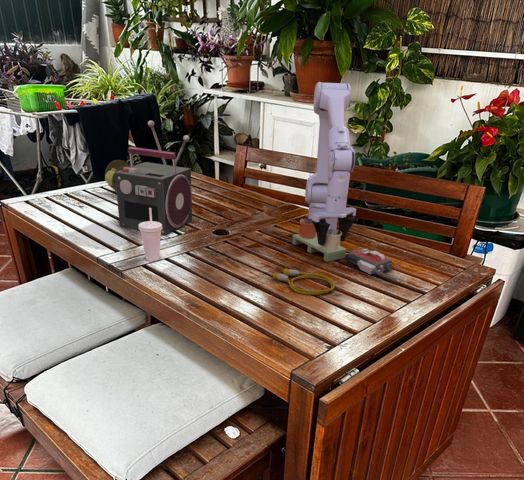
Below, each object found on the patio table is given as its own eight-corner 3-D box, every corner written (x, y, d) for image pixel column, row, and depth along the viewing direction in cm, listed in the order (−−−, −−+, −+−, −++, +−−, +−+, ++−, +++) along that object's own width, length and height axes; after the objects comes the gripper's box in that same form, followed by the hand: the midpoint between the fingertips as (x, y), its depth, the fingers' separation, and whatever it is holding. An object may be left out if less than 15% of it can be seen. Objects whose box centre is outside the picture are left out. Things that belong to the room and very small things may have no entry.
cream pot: (331, 243, 154) (333, 227, 151) (344, 248, 150) (346, 233, 147) (317, 245, 151) (319, 230, 148) (329, 252, 147) (331, 236, 145)
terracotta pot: (309, 232, 161) (310, 217, 159) (320, 237, 157) (321, 222, 155) (294, 234, 158) (296, 219, 156) (305, 240, 155) (307, 224, 152)
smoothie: (168, 256, 146) (165, 207, 139) (157, 264, 141) (153, 213, 134) (148, 252, 148) (144, 204, 140) (136, 260, 142) (132, 210, 135)
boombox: (116, 227, 165) (105, 126, 149) (151, 210, 182) (145, 118, 166) (165, 236, 160) (159, 133, 144) (197, 218, 176) (194, 124, 161)
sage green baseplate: (309, 240, 163) (310, 231, 162) (345, 257, 151) (346, 248, 150) (291, 243, 160) (292, 234, 158) (327, 262, 148) (328, 252, 146)
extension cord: (303, 268, 143) (303, 261, 142) (343, 288, 133) (344, 281, 132) (268, 278, 136) (269, 271, 135) (308, 300, 126) (309, 292, 125)
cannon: (164, 185, 211) (162, 157, 205) (174, 193, 203) (173, 163, 197) (103, 191, 200) (99, 160, 194) (111, 199, 192) (107, 167, 186)
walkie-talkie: (338, 261, 149) (392, 286, 135) (340, 246, 146) (395, 270, 133) (359, 255, 153) (413, 279, 140) (361, 241, 151) (416, 263, 138)
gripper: (326, 202, 136) (320, 251, 143) (366, 196, 143) (359, 243, 150) (309, 195, 141) (305, 243, 148) (349, 190, 148) (343, 235, 155)
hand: (331, 242), depth 149 cm, fingers open, 7 cm apart
